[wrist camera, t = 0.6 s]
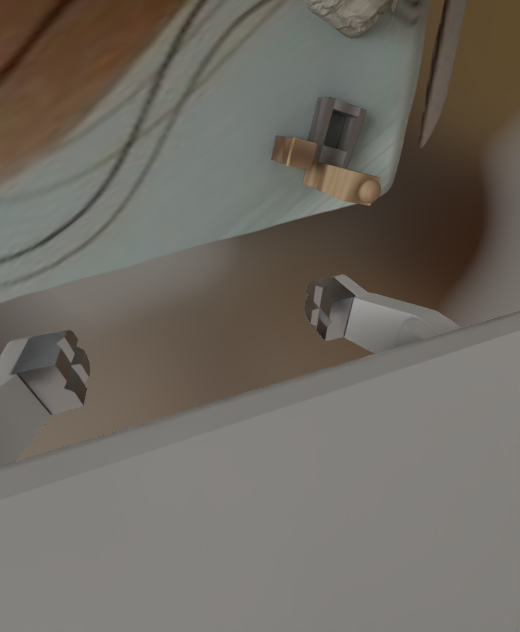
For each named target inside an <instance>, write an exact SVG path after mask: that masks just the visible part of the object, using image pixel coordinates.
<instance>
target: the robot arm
mask: <svg viewBox="0 0 520 632" xmlns="http://www.w3.org/2000/svg"><path fill="white" fill-rule="evenodd" d="M306 293H307V294H308V298H307V299H306V301H305V304H304V310H305V315H306V317H307V319H308V320H309V322H310V323H311V324H313V325H316V326H317V329H316V330H317V332H318V333H319V334H320V335H321V337H322V338H323V339H324V340H325V341H328V340H332V339H336V338H340V337H345V338H346V339H348V340H350V341H352V342H354V343H356V344H358V345H360V346H361V347H363V348H366V349H367V350H369V351H371V352H373V353H375V354H373V355H370V356H367V357H363V358H360V359H357V360H353V361H350V362H347V363H343V364H340V365H337V366H333V367H330V368H326V369H323V370H320V371H316V372H313V373H310V374H307V375H303V376H299V377H296V378H293V379H289V380H286V381H283V382H279V383H276V384H273V385H269V386H266V387H263V388H259V389H256V390H252V391H249V392H246V393H243V394H239V395H236V396H233V397H229V398H226V399H222V400H219V401H216V402H212V403H209V404H206V405H202V406H199V407H196V408H193V409H190V410H186V411H182V412H179V413H176V414H172V415H169V416H166V417H162V418H159V419H156V420H152V421H149V422H146V423H143V424H139V425H135V426H132V427H129V428H125V429H122V430H119V431H115V432H112V433H109V434H106V435H102V436H99V437H96V438H92V439H89V440H85V441H82V442H79V443H75V444H72V445H69V446H65V447H62V448H59V449H55V450H52V451H48V452H45V453H42V454H39V455H35V456H32V457H28V458H25V459H22V460H19V461H16V460H17V459H18V458H19V457H20V456H21V454H22V453H23V452H24V450H25V449H26V448H27V447H28V446H29V444H30V443H31V442H32V441H33V439H34V438H35V437H36V436H37V434H38V433H39V432H40V431H41V430H42V428H43V427H44V426H45V425H46V423H47V422H48V421H49V420H50V419H51V417H52V416H51V415H54V414H57V413H61V412H65V411H68V410H71V409H74V408H78V407H81V406H84V401H85V396H86V391H87V388H86V386H85V385H84V383H85V382H86V380H87V379H88V378H89V376H90V363H89V360H88V357H87V355H86V353H85V351H84V350H83V349H81V348H79V347H77V342H78V339H77V337H76V335H75V334H74V332H72V331H71V330H65V331H60V332H55V333H49V334H43V335H39V336H33V337H27V338H22V339H18V340H13V341H11V342H9V343H8V344H7V346H6V347H5V349H4V351H3V352H2V354H1V356H0V632H520V311H517V312H514V313H510V314H507V315H504V316H500V317H497V318H494V319H490V320H487V321H484V322H480V323H477V324H474V325H470V326H467V327H463V328H461V327H460V326H458V325H457V324H455V323H454V322H452V321H451V320H449V319H448V318H446V317H445V316H443V315H441V314H440V313H439V312H437V311H435V310H431V309H427V308H424V307H420V306H417V305H413V304H410V303H406V302H403V301H399V300H395V299H392V298H388V297H385V296H381V295H377V294H374V293H371V294H369V293H368V292H366V291H365V290H364V289H362V288H361V287H360V286H359V285H357V284H356V283H355V282H353V281H352V280H351V279H350V278H348V277H347V276H346V275H339V276H335V277H331V278H327V279H322V280H317V281H313V282H309V283H308V284H307V287H306Z"/></svg>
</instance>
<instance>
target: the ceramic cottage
mask: <svg viewBox="0 0 520 632" xmlns="http://www.w3.org/2000/svg"><path fill="white" fill-rule="evenodd" d="M397 1H398V0H305V2H306V4H307V6H308V7H309V9H310V10H311V11H312V12H313V13H314V14H316V15H318V16H319V17H320V18H322V19H324V21H327V22H328V23H329V24H330V25H331V26H332V27H333V28H336V29H337V30H338V31H340V32H341V33H343V34H344V35H345V36H347V37H349V38H355V37H360V36H361V35H362V34H363V33H364V32H365V31H367V30H368V29H369V28H370V27H371V26H373V25H374V24H375V23H376V21H377V19H378V17H379V14H385V12H386V11H387V10H388V9H389V10H392V11H393V12H394V10H395V8H396V3H397Z"/></svg>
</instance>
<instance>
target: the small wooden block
mask: <svg viewBox="0 0 520 632" xmlns="http://www.w3.org/2000/svg"><path fill="white" fill-rule="evenodd" d="M316 147H317V144H316V143H313V142H309V141H305V140H301V139H298V138H293V137H292V138H287V137H281V136H276V138H275V143H274V149H273V154H272V159H271V160H274V161H277V162H280V163H283V164H286V165H287V166H290V167H295V168H300V169H304V170H310V169H311V165H312V162H313V158H314V154H315V151H316Z"/></svg>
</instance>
